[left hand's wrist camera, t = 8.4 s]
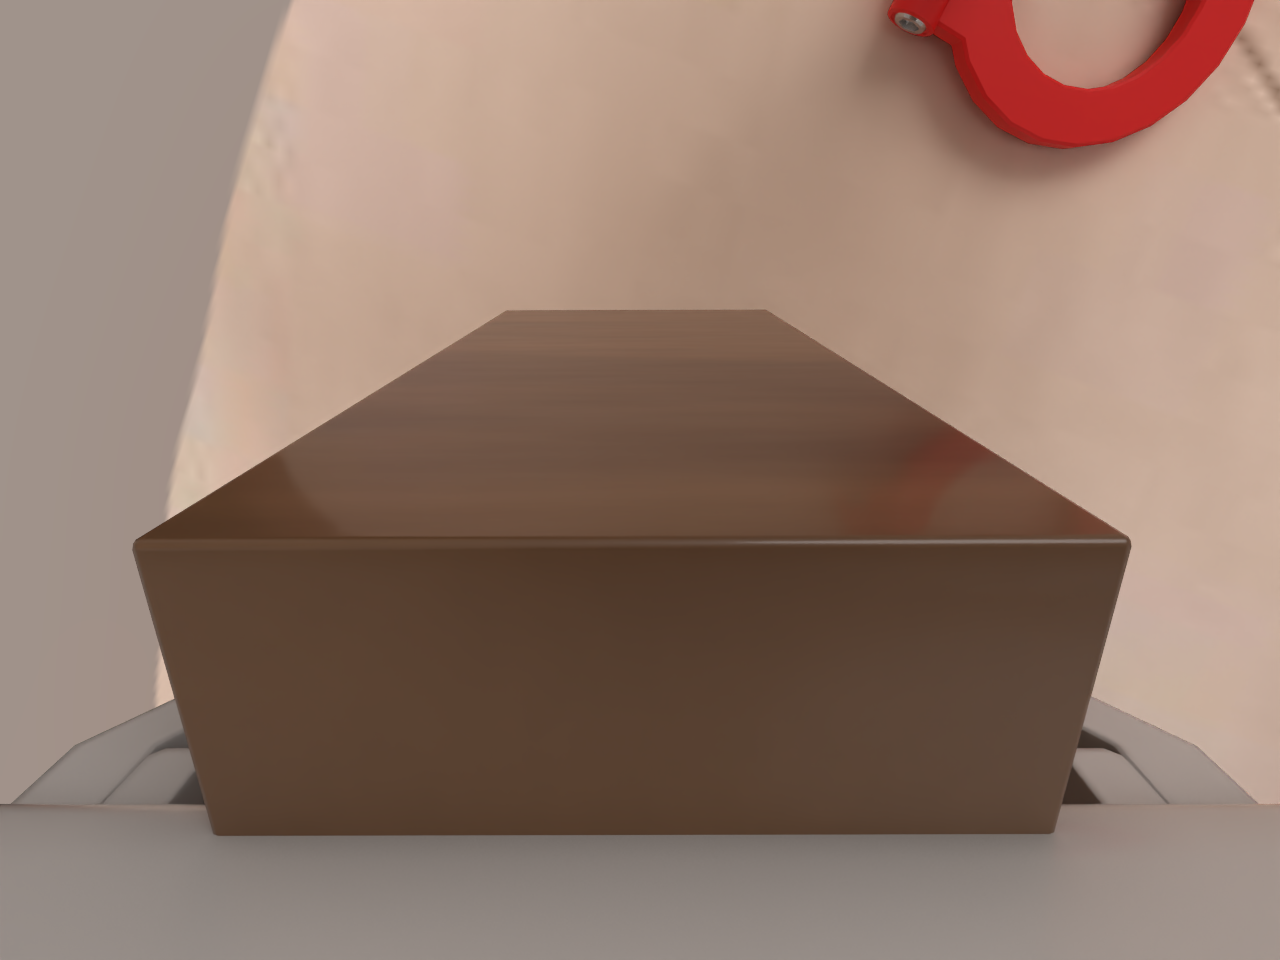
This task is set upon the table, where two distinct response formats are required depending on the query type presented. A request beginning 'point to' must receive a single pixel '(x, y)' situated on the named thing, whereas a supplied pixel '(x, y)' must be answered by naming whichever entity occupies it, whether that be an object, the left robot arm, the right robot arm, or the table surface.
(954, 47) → the tow hook
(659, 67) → the table surface
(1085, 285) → the table surface
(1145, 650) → the table surface
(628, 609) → the box
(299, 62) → the table surface
